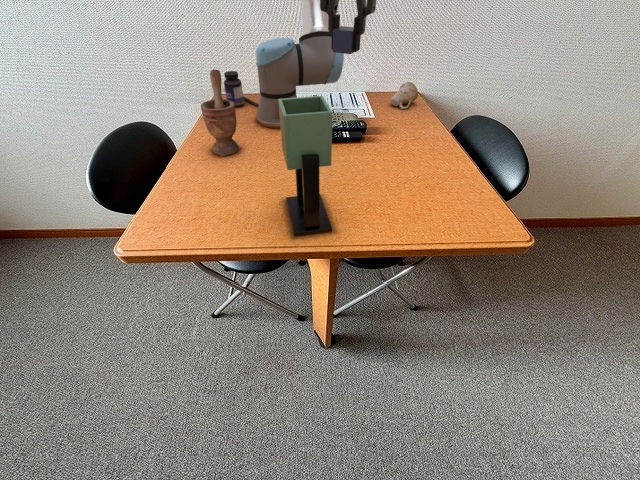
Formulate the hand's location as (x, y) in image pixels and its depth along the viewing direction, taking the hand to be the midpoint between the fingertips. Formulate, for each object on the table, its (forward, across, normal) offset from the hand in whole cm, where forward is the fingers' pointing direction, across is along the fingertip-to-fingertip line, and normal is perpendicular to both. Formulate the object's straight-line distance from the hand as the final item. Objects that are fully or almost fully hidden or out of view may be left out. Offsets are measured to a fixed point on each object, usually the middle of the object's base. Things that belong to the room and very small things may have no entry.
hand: (345, 49), depth 78 cm
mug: (+27, +5, +46) cm, 54 cm away
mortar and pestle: (+27, -32, -10) cm, 43 cm away
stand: (+27, +4, -29) cm, 40 cm away
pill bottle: (+27, -50, +20) cm, 60 cm away
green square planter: (+13, +4, -29) cm, 32 cm away
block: (0, 0, 0) cm, 0 cm away
